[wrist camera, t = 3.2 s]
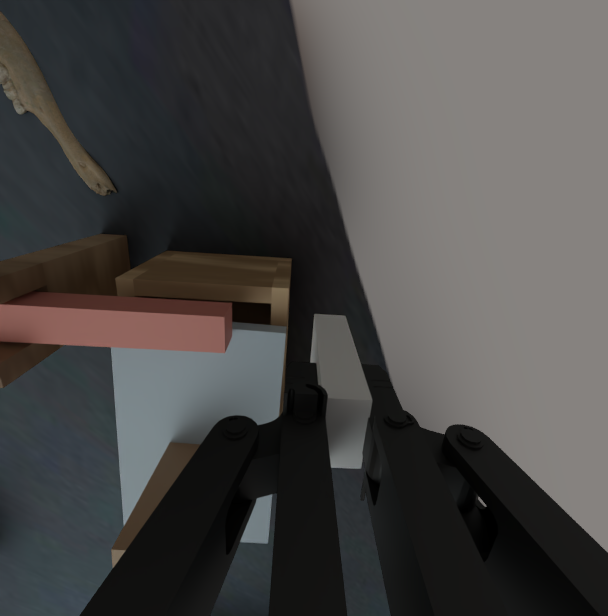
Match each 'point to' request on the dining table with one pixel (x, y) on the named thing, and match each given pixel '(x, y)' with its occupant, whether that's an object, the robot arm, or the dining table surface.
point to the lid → (189, 415)
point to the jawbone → (43, 104)
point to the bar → (117, 322)
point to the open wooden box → (218, 285)
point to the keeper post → (58, 286)
